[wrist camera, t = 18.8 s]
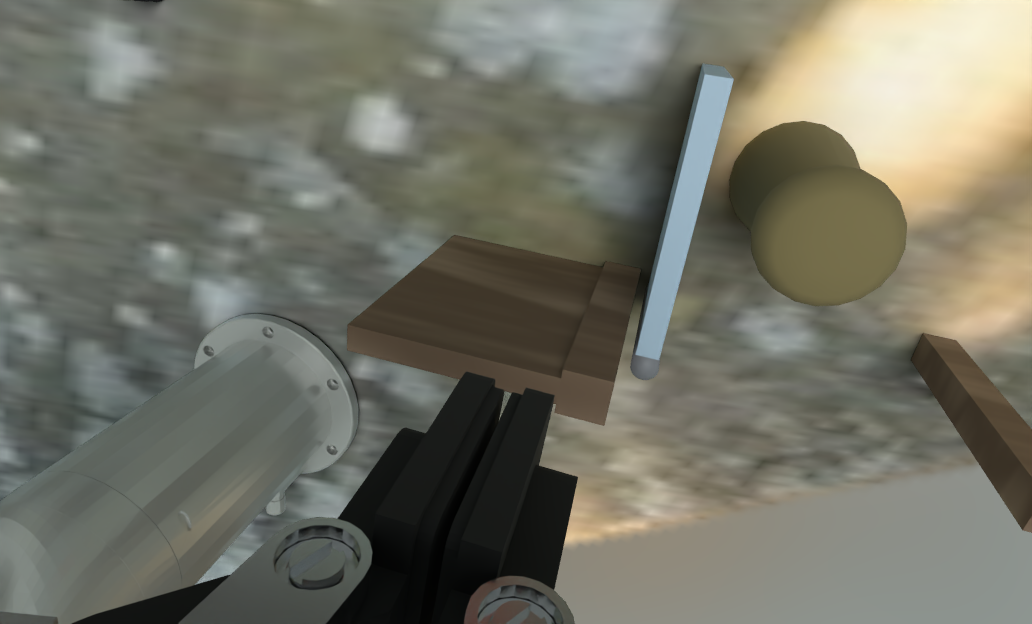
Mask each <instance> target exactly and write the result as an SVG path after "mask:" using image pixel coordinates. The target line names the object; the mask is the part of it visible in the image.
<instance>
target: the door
mask: <svg viewBox="0 0 1032 624" xmlns="http://www.w3.org/2000/svg"><path fill="white" fill-rule="evenodd" d="M733 80H734V79H733V77H732V76H731V75H730V74H729V73H728V71H727V70H726V69H725V68H724V67H722V66H716V65H709V64H703V63H702V68H701V72H700V76H699V80H698V84H697V88H696V92H695V96H694V100H693V104H692V109H691V113H690V117H689V121H688V125H687V129H686V133H685V137H684V141H683V145H682V150H681V154H680V158H679V162H678V166H677V170H676V174H675V178H674V182H673V186H672V190H671V195H670V199H669V203H668V207H667V211H666V215H665V219H664V223H663V227H662V231H661V236H660V240H659V244H658V248H657V252H656V256H655V260H654V264H653V268H652V272H651V277H650V281H649V285H648V286H647V287H646V289H645V294H644V299H643V305H642V310H641V315H640V320H639V325H638V330H637V335H636V340H635V345H634V350H633V355H632V360H631V366H630V368H631V371H632V373H633V375H634V376H636V377H637V378H639V379H642V380H649V379H652V378H654V377H655V376H656V375H657V373H658V371H659V363H660V354H661V350H662V346H663V343H664V339H665V335H666V331H667V328H668V324H669V320H670V316H671V313H672V309H673V305H674V301H675V298H676V294H677V290H678V286H679V283H680V279H681V275H682V271H683V268H684V264H685V260H686V256H687V253H688V249H689V245H690V241H691V238H692V234H693V230H694V226H695V223H696V219H697V215H698V211H699V208H700V204H701V200H702V196H703V193H704V189H705V185H706V181H707V178H708V174H709V170H710V166H711V163H712V159H713V155H714V151H715V148H716V144H717V140H718V136H719V133H720V129H721V125H722V121H723V118H724V114H725V110H726V106H727V103H728V99H729V95H730V91H731V88H732V84H733Z"/></svg>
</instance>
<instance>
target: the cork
mask: <svg viewBox="0 0 1032 624" xmlns="http://www.w3.org/2000/svg"><path fill="white" fill-rule="evenodd" d="M729 185H730V200H731V203H732V205H733V208H734V211H735V213H736V215H737V216H738V218H739V219H740V220H741V221H742V222H743V223H744V225H745V226H746V227H747V228H748V229H749V230H750V231H751V251H752V255H753V258H754V260H755V263H756V265H757V268H758V271H759V273H760V274H761V275H762V276H763V278H764V279H765V280H766V281H767V282H768V283H769V284H770V286H771V287H772V288H773V289H775V290H776V291H778V292H780V293H781V294H783V295H785V296H787V297H788V298H790V299H792V300H793V301H796V302H800V303H804V304H809V305H813V306H834V305H841V304H844V303H848V302H851V301H854V300H857V299H861V298H862V297H864V296H866V295H867V294H869V293H870V292H872V291H874V290H875V289H877V288H878V287H880V286H881V285H882V284H883V283H884V282H885V281H886V280H887V278H888V277H889V276H890V275H891V274H892V273H893V272H894V271H895V270H896V268H897V266H898V264H899V261H900V259H901V257H902V255H903V253H904V250H905V245H906V232H907V222H906V219H905V216H904V213H903V209H902V206H901V203H900V201H899V200H898V198H897V197H896V196H895V195H894V193H893V192H892V191H891V190H890V189H889V187H888V186H887V185H886V184H885V183H884V182H882V181H881V180H879V179H877V178H876V177H874V176H872V175H870V174H869V173H867V172H865V171H863V170H862V169H860V166H859V163H858V161H857V158H856V155H855V152H854V150H853V149H852V147H851V146H850V145H849V144H848V142H847V141H846V140H845V139H844V138H843V136H842V135H841V134H839V133H837V132H835V131H834V130H832V129H830V128H828V127H827V126H825V125H821V124H816V123H811V122H806V121H801V122H792V123H783V124H780V125H778V126H776V127H773V128H771V129H769V130H766V131H764V132H762V133H761V134H760V135H759V136H757V137H756V138H755V139H754V140H752V141H751V142H750V143H749V144H747V145H746V147H745V148H744V150H743V151H742V153H741V154H740V155H739V157H738V158H737V160H736V161H735V164H734V167H733V170H732V173H731V177H730V180H729Z"/></svg>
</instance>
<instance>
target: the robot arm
mask: <svg viewBox="0 0 1032 624" xmlns="http://www.w3.org/2000/svg"><path fill="white" fill-rule="evenodd" d="M503 396H504V389H500V388H496V387H495V379H493V378H489V377H486V376H482V375H478V374H475V373H471V372H465V373H464V375H463V376H462V378H461V379H460V381H459V382H458V384H457V386H456V387H455V389H454V390H453V392H452V394H451V395H450V397H449V398H448V400H447V401H446V403H445V405H444V406H443V408H442V409H441V411H440V412H439V414H438V416H437V417H436V419H435V420H434V422H433V423H432V425H431V427H430V428H429V430H428V431H427V433H422V432H419V431H415V430H412V429H408V428H403V429H402V430H401V431H400V432H399V433H398V434H397V436H396V437H395V438H394V440H393V441H392V443H391V444H390V445H389V447H388V448H387V450H386V451H385V453H384V454H383V455H382V457H381V458H380V460H379V461H378V462H377V464H376V465H375V467H374V468H373V469H372V471H371V472H370V474H369V475H368V477H367V478H366V479H365V481H364V482H363V484H362V485H361V486H360V488H359V489H358V491H357V492H356V493H355V495H354V496H353V498H352V499H351V501H350V502H349V503H348V505H347V506H346V508H345V509H344V510H343V512H342V513H341V515H340V516H339V517H338V519H336V518H325V517H316V518H310V519H304V520H300V521H298V522H295V523H293V524H290V525H288V526H286V527H285V528H283V529H282V530H280V531H279V532H277V533H276V534H275V535H273V536H272V537H271V538H270V539H269V540H268V541H267V542H266V543H265V544H264V545H262V546H261V547H260V548H259V549H258V550H257V551H256V552H255V553H254V554H253V555H252V556H251V557H249V558H248V559H247V560H246V561H245V562H244V563H243V564H242V565H241V566H240V567H239V568H238V569H236V570H235V571H234V572H233V573H232V574H231V575H227V576H224V577H220V578H217V579H213V580H210V581H207V582H203V583H200V584H196V583H197V582H198V581H199V580H200V578H201V577H202V576H203V575H204V574H205V573H206V572H207V571H208V570H209V569H210V567H211V566H212V565H213V564H214V563H215V562H216V561H217V560H218V559H219V557H220V556H221V555H222V554H223V553H224V552H225V551H226V550H227V549H228V548H229V546H230V545H231V544H232V543H233V542H234V541H235V540H236V539H237V538H238V537H239V535H240V534H241V533H242V532H243V531H244V530H245V529H246V528H247V527H248V526H249V524H250V523H251V522H252V521H253V520H254V519H255V518H256V517H257V516H258V515H259V513H260V512H261V511H262V510H263V509H264V508H265V507H266V511H267V513H268V514H270V515H278V514H281V513H282V512H284V511H285V508H286V497H285V492H284V491H285V490H286V489H287V488H288V487H289V486H290V484H291V483H292V482H293V481H294V480H295V479H296V478H297V477H298V476H299V474H307V473H312V472H317V471H320V470H322V469H324V468H327V467H329V466H331V465H332V464H333V463H334V462H336V461H337V460H338V459H339V458H340V457H341V456H342V455H343V453H344V452H345V451H346V450H347V449H348V448H349V446H350V444H351V442H352V440H353V439H354V437H355V434H356V430H357V426H358V412H359V409H358V403H357V398H356V393H355V391H354V388H353V385H352V382H351V380H350V378H349V376H348V374H347V372H346V371H345V369H344V367H343V365H342V364H341V363H340V361H339V360H338V359H337V358H336V356H335V355H334V354H333V352H332V351H331V350H330V349H329V348H328V347H327V346H326V345H325V344H324V343H323V342H321V341H320V340H319V339H318V338H317V337H316V336H314V335H313V334H311V333H310V332H308V331H307V330H306V329H304V328H302V327H300V326H298V325H296V324H294V323H292V322H290V321H288V320H285V319H282V318H279V317H275V316H272V315H263V314H248V315H240V316H238V317H235V318H232V319H229V320H227V321H226V322H224V323H222V324H220V325H219V326H217V327H215V328H214V329H213V330H212V331H211V332H210V333H208V334H207V335H206V336H205V338H204V339H203V341H202V342H201V343H200V345H199V348H198V351H197V354H196V357H195V362H194V370H193V371H191V372H190V373H188V374H187V375H185V376H184V377H182V378H181V379H180V380H178V381H177V382H175V383H174V384H172V385H171V386H169V387H168V388H166V389H165V390H163V391H162V392H160V393H159V394H157V395H156V396H154V397H153V398H151V399H150V400H148V401H147V402H145V403H144V404H142V405H141V406H139V407H138V408H136V409H135V410H133V411H132V412H130V413H129V414H127V415H126V416H124V417H123V418H121V419H120V420H118V421H117V422H115V423H114V424H112V425H111V426H110V427H108V428H107V429H105V430H104V431H102V432H101V433H99V434H98V435H96V436H95V437H93V438H92V439H90V440H89V441H87V442H86V443H84V444H83V445H81V446H80V447H78V448H77V449H75V450H74V451H72V452H71V453H69V454H68V455H66V456H65V457H63V458H62V459H60V460H59V461H57V462H56V463H54V464H53V465H51V466H50V467H48V468H47V469H45V470H44V471H42V472H41V473H39V474H38V475H37V476H35V477H33V478H32V479H30V480H29V481H27V482H26V483H24V484H23V485H21V486H20V487H19V488H17V489H16V490H14V491H13V492H12V493H10V494H9V495H7V496H6V497H5V498H4V499H2V500H1V501H0V624H575V623H574V617H573V615H572V613H571V611H570V609H569V608H568V606H567V604H566V602H565V601H564V600H563V599H562V598H561V597H560V596H559V595H558V594H557V593H556V592H555V591H554V588H555V583H556V579H557V574H558V569H559V565H560V560H561V555H562V550H563V546H564V541H565V536H566V532H567V527H568V522H569V517H570V513H571V508H572V503H573V499H574V494H575V489H576V484H577V479H578V477H576V476H573V475H569V474H566V473H562V472H559V471H555V470H552V469H548V468H545V467H541V466H539V462H540V458H541V454H542V449H543V445H544V441H545V437H546V432H547V428H548V424H549V420H550V415H551V411H552V407H553V402H554V397H555V395H553V394H549V393H545V392H541V391H538V390H534V389H530V388H527V387H526V388H525V390H524V392H523V395H522V394H519V393H515V392H512V394H511V396H510V398H509V400H508V403H507V405H506V407H505V409H504V411H503V413H502V416H501V418H500V420H499V417H500V412H501V407H502V402H503ZM195 584H196V585H195Z"/></svg>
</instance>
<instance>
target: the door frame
mask: <svg viewBox="0 0 1032 624" xmlns="http://www.w3.org/2000/svg"><path fill="white" fill-rule="evenodd" d="M640 271H641V269H640V268H635V267H631V266H626V265H621V264H617V263H612V262H607V261H606V262H605V264H604V267H599V266H594V265H590V264H585V263H581V262H576V261H571V260H567V259H562V258H558V257H553V256H548V255H544V254H539V253H535V252H530V251H525V250H521V249H516V248H512V247H507V246H503V245H498V244H493V243H489V242H484V241H480V240H475V239H470V238H466V237H461V236H457V235H454V236H453V237H452V238H450V239H449V240H448V241H447V242H446V243H445V244H443V245H442V246H441V247H440V248H439V249H437V250H436V251H435V252H434V253H433V254H431V255H430V256H429V257H428V258H427V259H425V260H424V261H423V262H422V263H421V264H419V265H418V266H417V267H416V268H415V269H413V270H412V271H411V272H410V273H409V274H408V275H406V276H405V277H404V278H403V279H402V280H400V281H399V282H398V283H397V284H396V285H394V286H393V287H392V288H391V289H390V290H388V291H387V292H386V293H385V294H384V295H382V296H381V297H380V298H379V299H378V300H377V301H375V302H374V303H373V304H372V305H371V306H369V307H368V308H367V309H366V310H365V311H363V312H362V313H361V314H360V315H359V316H357V317H356V318H355V319H354V320H353V321H351V322H350V323H349V324H348V328H347V350H348V351H352V352H356V353H360V354H364V355H368V356H371V357H375V358H379V359H383V360H387V361H391V362H395V363H398V364H402V365H406V366H410V367H414V368H418V369H422V370H425V371H429V372H433V373H437V374H441V375H445V376H449V377H452V378H456V379H461V378H462V376H463V375H464V373H465V372H471V373H475V374H478V375H482V376H486V377H489V378H493V379H495V387H496V388H500V389H504V391H507V392H510V393H512V392H515V393H519V394H522V395H523V392H524V390H525V388H526V387H527V388H530V389H534V390H538V391H541V392H545V393H549V394H553V395H555V397H554V402H553V404H556V408H555V413H557V414H561V415H565V416H569V417H573V418H576V419H580V420H584V421H588V422H592V423H596V424H599V425H603V426H604V425H605V421H606V416H607V412H608V408H609V404H610V399H611V395H612V391H613V387H614V383H615V378H616V374H617V370H618V365H619V361H620V357H621V352H622V348H623V344H624V340H625V335H626V331H627V327H628V322H629V318H630V314H631V310H632V305H633V301H634V297H635V292H636V288H637V284H638V280H639V275H640ZM911 361H912V363H913V364H914V366H915V367H916V369H917V370H918V372H919V373H920V375H921V376H922V378H923V379H924V381H925V382H926V384H927V385H928V387H929V388H930V390H931V391H932V393H933V394H934V396H935V398H936V399H937V401H938V402H939V404H940V405H941V407H942V408H943V410H944V411H945V413H946V414H947V416H948V417H949V419H950V420H951V422H952V423H953V425H954V426H955V428H956V430H957V431H958V433H959V434H960V436H961V437H962V439H963V440H964V442H965V443H966V445H967V446H968V448H969V449H970V451H971V452H972V454H973V455H974V457H975V458H976V460H977V462H978V463H979V465H980V466H981V468H982V469H983V471H984V472H985V474H986V475H987V477H988V478H989V480H990V481H991V483H992V484H993V486H994V487H995V489H996V490H997V492H998V493H999V495H1000V497H1001V498H1002V500H1003V501H1004V502H1005V504H1006V506H1007V507H1008V509H1009V510H1010V512H1011V513H1012V515H1013V516H1014V518H1015V519H1016V521H1017V522H1018V524H1019V525H1020V527H1021V529H1022V530H1024V531H1028V532H1031V533H1032V429H1031V428H1030V427H1029V426H1028V425H1027V424H1026V422H1025V421H1024V420H1023V419H1022V418H1021V416H1020V415H1019V414H1018V413H1017V412H1016V411H1015V409H1014V408H1013V407H1012V406H1011V405H1010V403H1009V402H1008V401H1007V400H1006V399H1005V398H1004V396H1003V395H1002V394H1001V393H1000V392H999V390H998V389H997V388H996V387H995V386H994V385H993V383H992V382H991V381H990V380H989V379H988V377H987V376H986V375H985V374H984V373H983V372H982V370H981V369H980V368H979V367H978V366H977V364H976V363H975V362H974V361H973V360H972V358H971V357H970V356H969V355H968V354H967V353H966V351H965V350H964V349H963V348H962V347H961V345H960V344H959V343H958V342H957V341H956V340H951V339H946V338H942V337H937V336H933V335H928V334H923V335H922V337H921V339H920V341H919V343H918V346H917V348H916V350H915V352H914V354H913V356H912V359H911Z"/></svg>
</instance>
